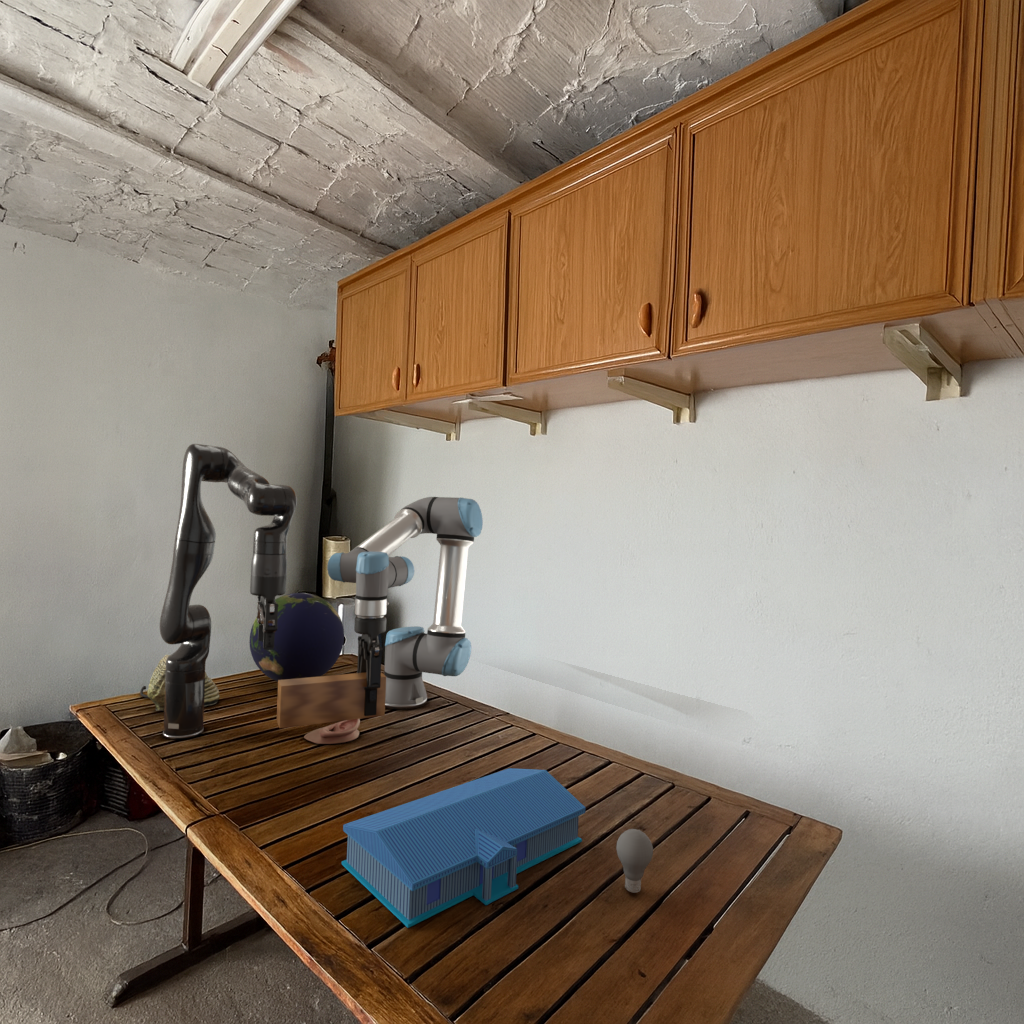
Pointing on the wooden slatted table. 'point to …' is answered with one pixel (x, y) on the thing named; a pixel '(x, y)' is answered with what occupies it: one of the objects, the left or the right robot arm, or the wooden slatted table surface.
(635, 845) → the light bulb
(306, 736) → the anatomical model
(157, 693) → the fossil
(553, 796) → the model building
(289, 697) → the bar
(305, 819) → the wooden slatted table surface
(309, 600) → the globe
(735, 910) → the wooden slatted table surface
